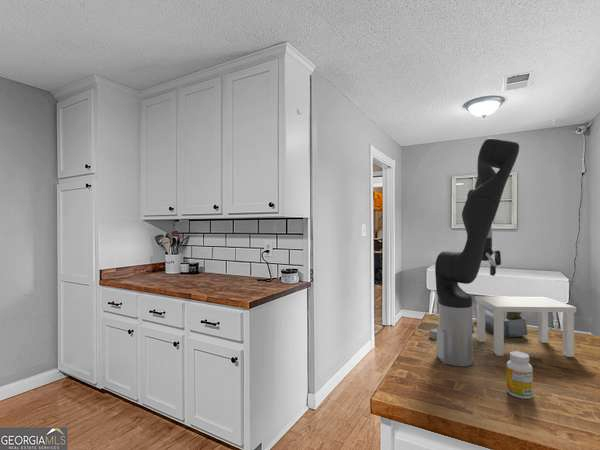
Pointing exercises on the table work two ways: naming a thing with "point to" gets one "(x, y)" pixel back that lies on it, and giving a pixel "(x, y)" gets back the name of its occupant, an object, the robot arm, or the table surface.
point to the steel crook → (506, 324)
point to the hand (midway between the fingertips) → (481, 275)
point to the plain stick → (434, 333)
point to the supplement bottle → (519, 375)
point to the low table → (525, 305)
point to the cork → (513, 316)
